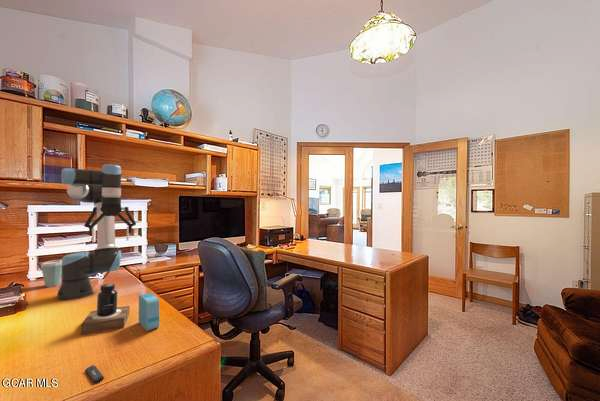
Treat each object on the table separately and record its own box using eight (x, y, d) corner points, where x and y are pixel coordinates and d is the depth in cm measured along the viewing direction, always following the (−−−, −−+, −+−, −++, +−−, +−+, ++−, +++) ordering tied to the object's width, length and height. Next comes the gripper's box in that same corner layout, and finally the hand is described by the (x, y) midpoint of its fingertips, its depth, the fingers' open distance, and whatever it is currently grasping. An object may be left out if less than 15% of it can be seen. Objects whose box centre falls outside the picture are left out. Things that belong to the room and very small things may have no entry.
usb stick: (84, 372, 79) (84, 367, 79) (95, 368, 81) (95, 363, 81) (93, 386, 73) (93, 380, 73) (104, 381, 75) (104, 375, 75)
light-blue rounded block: (159, 328, 106) (159, 298, 106) (146, 332, 103) (147, 301, 103) (150, 319, 115) (150, 291, 115) (138, 322, 112) (138, 294, 112)
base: (91, 320, 114) (91, 310, 114) (129, 314, 120) (129, 305, 120) (80, 335, 101) (80, 323, 101) (123, 327, 107) (123, 317, 107)
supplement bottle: (106, 317, 106) (106, 288, 106) (92, 316, 108) (92, 287, 108) (121, 311, 113) (121, 283, 113) (107, 309, 114) (108, 282, 114)
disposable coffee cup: (52, 288, 157) (52, 263, 157) (34, 288, 157) (35, 263, 157) (68, 283, 167) (68, 259, 168) (51, 282, 168) (51, 259, 168)
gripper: (76, 196, 117) (75, 243, 117) (140, 196, 128) (140, 240, 128) (81, 196, 124) (81, 241, 124) (142, 197, 135) (142, 238, 135)
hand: (111, 241), depth 126 cm, fingers open, 13 cm apart
